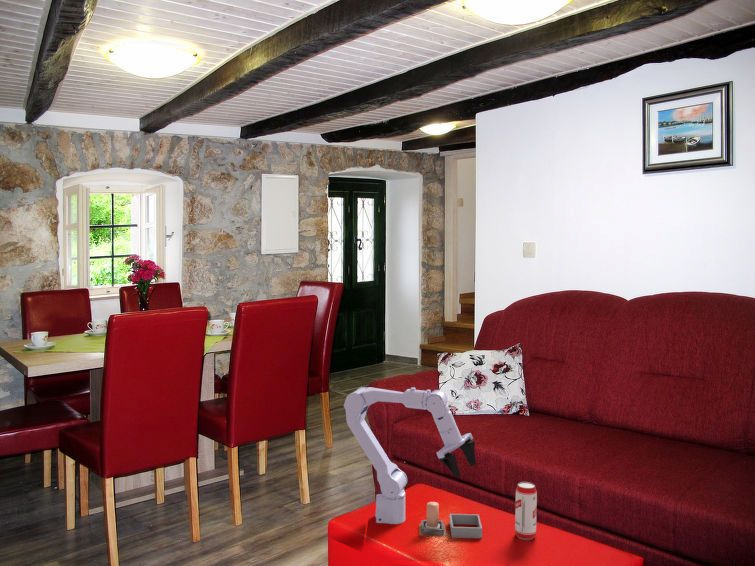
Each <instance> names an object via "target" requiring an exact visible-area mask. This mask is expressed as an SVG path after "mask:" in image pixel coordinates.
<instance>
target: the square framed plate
mask: <svg viewBox="0 0 755 566" xmlns="http://www.w3.org/2000/svg"><path fill="white" fill-rule="evenodd" d="M426 523H427V519H421V523H419V524H418V525H419V528H418V529H419V531H418V532H419V536H429V537H430V536H433V537H434V536H437V537H446V536H447V530H446V524H444V520H439V524H440V529H426V528H425V524H426Z"/></svg>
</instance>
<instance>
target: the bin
mask: <svg viewBox="0 0 755 566" xmlns="http://www.w3.org/2000/svg"><path fill="white" fill-rule="evenodd" d="M454 525H468V526H469V525H472V527H471V526H470V527H468V526H454ZM474 525H475V526H477V527H475V526H474ZM473 526H474V527H473ZM449 528H450V536H451V538H456V539H457V538H459V539H460V538H461V539H462V538H463V539H483V526H482V521H481V519H480V514H476V513H475V514H473V513H471V514H467V513H449Z"/></svg>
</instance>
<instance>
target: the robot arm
mask: <svg viewBox="0 0 755 566" xmlns="http://www.w3.org/2000/svg"><path fill="white" fill-rule="evenodd" d="M416 388H417V387H410V388H407V389H406V390H405V391H404V392H403V391H397V390H391V389H385V388H377V387H370V386H369V387H366V386H365V387H364V386H361V387H358V388H357V389H356V390H354V391H353V392H351V393H349V394H348V395H347V396H346V397H345V400H344V403H343V408H344V409H345V417H346V418H345V420H346V424H347V426H348V428H349V430H350V431H351V433H352V434H353V436H354V438H355V439H356V441H357V442H358V444H359V445H360V448H361V449H362V450H363V452H364V453H365V455H366V456H367V458H368V460H369V462H370V463H371V465H372V466H373V468H374V469H375V471H376V479H377V482H378V483H379V487H380V493H378V494H376V497H375V498H376V499H375V500H376V501H375V515H374V517H375V523H377V524H390V525H399V524H403V523H404V522H405V521H406V492H405V487H406V486H407V484H408V477H407V474H406V472H404V471H403V470H401V469H400V468H399V466H398V465H397V464H396V463H394V462H392V461H391V460H390V459H389V457H388V455H387V453H386V452H385V450H384V449H383V447H382V446H381V444H380V442H379V441H378V439H377V438H376V436H375V434H374V433H373V431H372V430H371V428H370V426H369V425H368V423H367V422H366V420H365V419H366V418H365V417H366V415H367V412H368V409H369V408H370V406H371V405H373V404H375V403H377V402H384V403H396V404H397V403H400V404H402V405H404V406H405V408H408V409H415V410H417V409H418V410H427V411H428V412H430V413H431V416H432V418H433V421H434V423H435V425H436V427H437V430H438V433H439V435H440V437H441V439H442V442H443V444H444V446H443V447H442V448H441V449H439V450H438V451H436V456H437V458H438V460H439V461H440V462H441V463H442V464H443V465H444V466H446V468H447V469H448V470H449V471H450V472H451V474H452V475H453V477H454V478H457V477H458V478H459V477H461V476H462V475H461V471H460V469H459V466H458V463H457V458H456V454H452V452H454V451H455V450H456V449H458V448H460V450H461V451H462V454H464V456H465V458H466V460H467V463H468V464H469V466H470V467H474V466H476V465H477V461H476V452H475V451H476V450H475V449H476V448H475V446H476V441H475V439H474V437H473V435H472V433H471V432H469V433H465V434H463V435H462V434H461V432H460V430H459V428H458V425H457V423H456V420H455V417H454V415H453V413H452V411H451V410H450V407H449V404H448V396H447V394H446V393H445V392H444V391H442V390H439V389H434V390H431V389H426V390H423V389H422V390H420V389H416Z"/></svg>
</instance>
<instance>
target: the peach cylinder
mask: <svg viewBox="0 0 755 566" xmlns="http://www.w3.org/2000/svg"><path fill="white" fill-rule="evenodd" d="M439 509H440V504H439V502H436V501H429V502H427V503H426V520H427V523H426V524H425V528H426V529H440V524H439V521H440V520H439V519H440V518H439V516H440V513H439V512H440V511H439Z"/></svg>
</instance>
